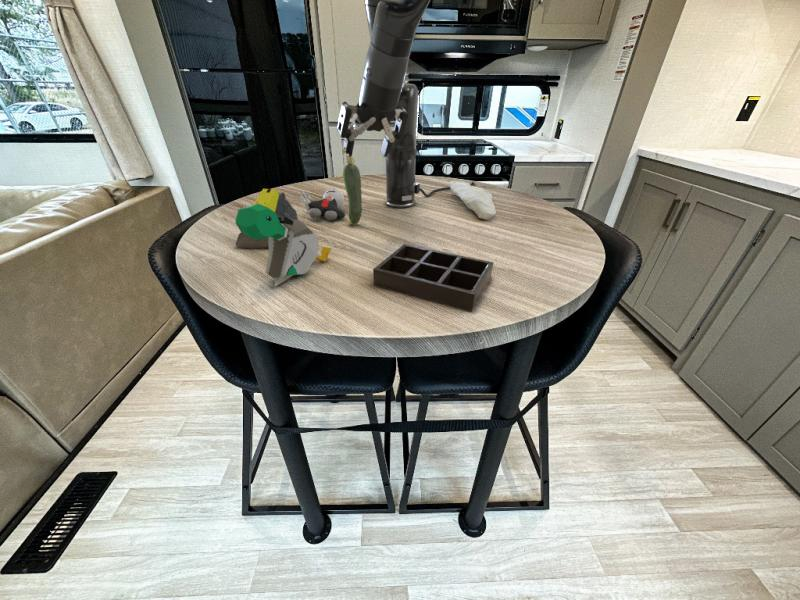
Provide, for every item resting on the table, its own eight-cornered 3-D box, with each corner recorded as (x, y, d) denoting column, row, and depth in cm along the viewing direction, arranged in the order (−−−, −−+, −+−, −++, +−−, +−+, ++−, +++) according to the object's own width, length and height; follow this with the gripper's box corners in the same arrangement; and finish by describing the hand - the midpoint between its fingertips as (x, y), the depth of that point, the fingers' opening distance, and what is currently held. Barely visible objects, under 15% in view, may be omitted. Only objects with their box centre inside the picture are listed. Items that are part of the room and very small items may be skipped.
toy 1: (336, 223, 71) (269, 180, 53) (320, 297, 70) (246, 279, 52) (313, 221, 74) (242, 180, 56) (297, 292, 73) (219, 274, 55)
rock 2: (446, 193, 118) (461, 219, 92) (449, 178, 115) (465, 200, 89) (484, 198, 119) (509, 224, 93) (488, 183, 116) (515, 206, 90)
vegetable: (366, 224, 91) (361, 146, 80) (358, 229, 88) (352, 149, 77) (352, 222, 92) (346, 145, 81) (344, 227, 89) (337, 148, 78)
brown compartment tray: (403, 258, 73) (404, 243, 71) (490, 277, 65) (493, 262, 64) (373, 285, 63) (372, 269, 61) (472, 311, 55) (474, 294, 54)
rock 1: (218, 223, 73) (277, 203, 71) (236, 206, 82) (289, 187, 79) (247, 264, 79) (301, 246, 77) (261, 244, 88) (310, 227, 86)
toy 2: (286, 202, 89) (304, 182, 101) (291, 224, 93) (307, 203, 105) (341, 206, 88) (352, 186, 100) (343, 228, 93) (354, 206, 104)
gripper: (409, 70, 64) (388, 145, 77) (340, 59, 58) (330, 143, 71) (425, 90, 61) (400, 165, 74) (354, 82, 55) (341, 165, 68)
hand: (366, 154), depth 72 cm, fingers open, 8 cm apart
